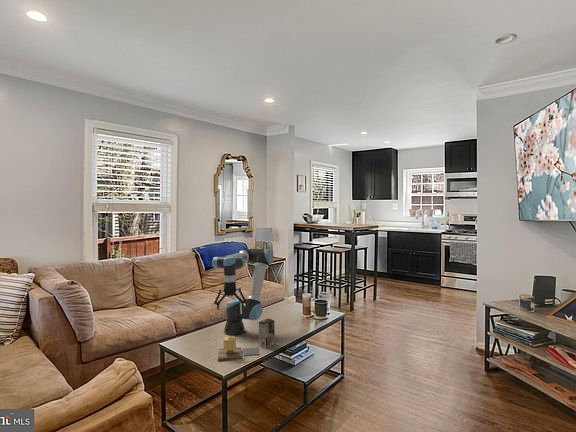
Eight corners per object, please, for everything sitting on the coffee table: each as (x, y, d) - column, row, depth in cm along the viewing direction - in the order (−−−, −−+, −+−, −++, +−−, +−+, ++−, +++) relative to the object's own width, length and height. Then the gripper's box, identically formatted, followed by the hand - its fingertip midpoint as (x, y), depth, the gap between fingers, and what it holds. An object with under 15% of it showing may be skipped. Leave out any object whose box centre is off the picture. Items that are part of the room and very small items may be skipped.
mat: (243, 349, 217) (243, 348, 217) (257, 348, 218) (257, 347, 218) (244, 356, 207) (244, 355, 207) (258, 354, 208) (258, 353, 208)
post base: (218, 351, 214) (218, 336, 214) (241, 349, 216) (240, 334, 216) (217, 361, 200) (217, 345, 200) (241, 359, 203) (241, 343, 202)
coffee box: (268, 341, 229) (267, 318, 228) (275, 344, 225) (274, 320, 224) (258, 346, 222) (258, 321, 221) (265, 348, 217) (265, 323, 217)
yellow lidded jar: (223, 345, 211) (223, 335, 211) (236, 344, 213) (235, 334, 212) (223, 350, 204) (223, 339, 204) (236, 349, 205) (236, 338, 205)
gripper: (209, 283, 211) (210, 317, 212) (249, 281, 215) (250, 314, 216) (210, 281, 218) (210, 313, 219) (248, 278, 223) (249, 310, 223)
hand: (230, 314), depth 218 cm, fingers open, 13 cm apart
